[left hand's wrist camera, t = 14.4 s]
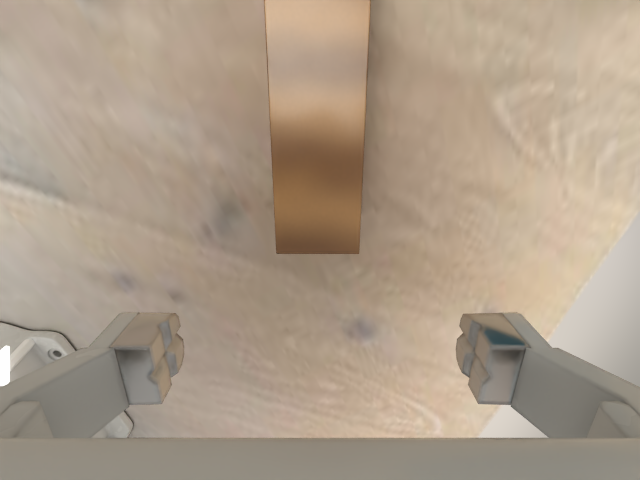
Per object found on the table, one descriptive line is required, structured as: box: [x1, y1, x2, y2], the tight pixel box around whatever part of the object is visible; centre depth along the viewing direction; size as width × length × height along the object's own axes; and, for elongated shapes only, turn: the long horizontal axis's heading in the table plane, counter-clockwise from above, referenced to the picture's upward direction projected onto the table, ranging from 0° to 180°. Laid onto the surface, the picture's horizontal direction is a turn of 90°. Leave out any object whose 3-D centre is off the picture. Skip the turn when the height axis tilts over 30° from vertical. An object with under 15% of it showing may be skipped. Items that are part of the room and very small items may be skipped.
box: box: [264, 0, 371, 254], centre depth 25 cm, size 22×6×9 cm, turn 0°
